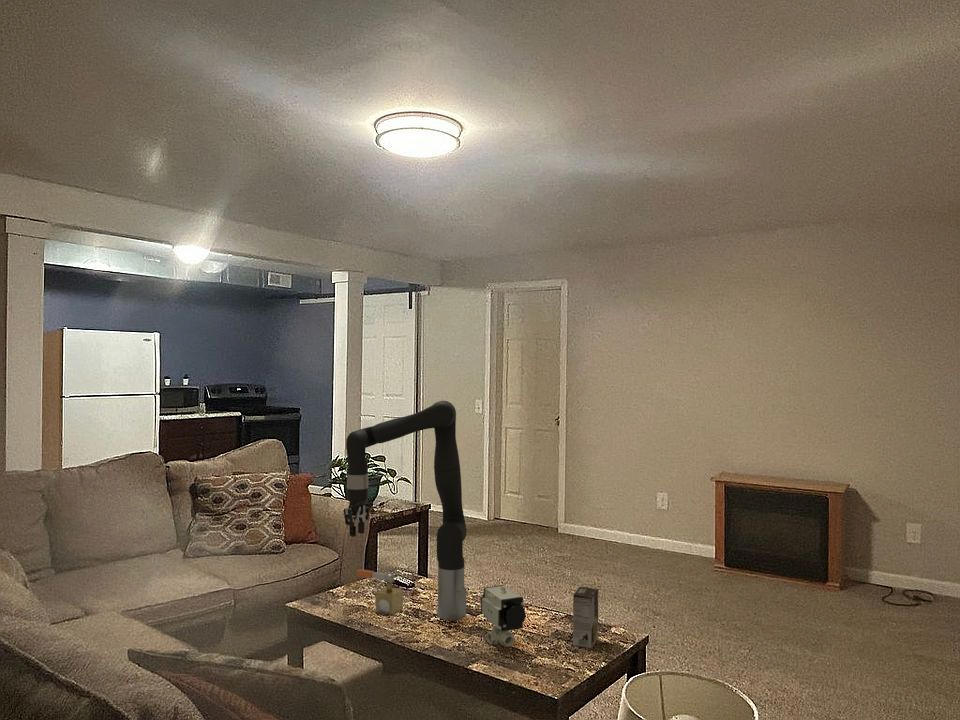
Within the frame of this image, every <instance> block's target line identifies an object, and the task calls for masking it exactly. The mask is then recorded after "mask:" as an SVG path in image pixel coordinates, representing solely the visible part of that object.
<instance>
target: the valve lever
mask: <svg viewBox="0 0 960 720" xmlns="http://www.w3.org/2000/svg"><path fill="white" fill-rule="evenodd" d="M356 577H357V578H364V579H369V580H370V579H374V580H381V581H384V582H385V583H387V582H388V583H391V582H392V583H394V582H395V573H393V572H385V573H383V572H377V571H376V572H375V570H369V569H362V568H360V569H358V570H356Z"/></svg>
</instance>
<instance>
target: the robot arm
mask: <svg viewBox="0 0 960 720" xmlns="http://www.w3.org/2000/svg"><path fill="white" fill-rule="evenodd" d="M456 410H457V409H456V408H455V406H454V405H453V403H452V402H450V401H447V400H439V401H437V402H436V401H435V403H433V404H432V405H430V406H428V407H427V408H424V409H422V410H420V411H417V412H415V413H412V414H409V415H406V416H400V417H396V418H392V419H389V420H385V421H381V422H379V423H377V424H374V425H372V426H368V427H363V428H360V429H357V430H353V431H352V432H350V433H349V434H348V436H347V437H346V441H345V442H346V443H345V448H346V449H345V450H346V455H347V461H348V462H347V463H348V464H347V478H346V500H347V501H348V502H349V503H348V507H347V508H344V509H343V515H344V517H343V518H344V522H345V523H344V524H345V525H347V526H349V528H348V529H349V537H351V538H352V537H353V538H354V537H356V536H357V533H358V534H361V535H362V534H364V533H365V523H366V521H368V520H369V518H370V512H371V506H372V505H371V503H370V502H367V501H368V500H369V475H368V474H369V462H368V459H367V457H366V456H367V455H366V454H367V453H366V452H367V451H366V448H369V447H371V446H375V445H377V444H384V443H387V442H390V441H394V440H397V439H400V438H402V437H405V436H407V435H410V434H414V433H416V432H420V431H423V430H424V431H425V430H429V429H434V437H435V449H434V456H433V457H434V459H433V470H434V482H435V487H436V492H437V493H438V497H439V500H440V502H441V508H442V524H441V525H440V526H439V528H438V529H437V533H436V559H437V617H438V618H439V619H441V620H447V621H459V620H461V619H462V618H465V616H467V587H465V564H466V563H465V558H464V555H463V554H464V553H463V551H464V550H463V547H464V545H463V544H464V541H465V539H466V537H467V525H466V520H465V515H464V509H463V501H462V500H463V498H462V497H463V493H462V492H463V491H462V474H461V473H462V472H461V464H460V455H459V450H458V444H457V429H456V428H457V427H456V426H457V425H456V424H457V411H456ZM357 520H358V523H357ZM356 525H357V526H356Z"/></svg>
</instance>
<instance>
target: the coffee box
mask: <svg viewBox="0 0 960 720" xmlns="http://www.w3.org/2000/svg"><path fill="white" fill-rule="evenodd" d="M572 596H573V598H572V599H573V600H572V601H573V605H572V606H573V609H572V610H573V611H572V613H573V615H572V645H573V646H577V647H582V648H588V649H592V648H593V647H594V645H595V643H596V642H597V640H598V639H599V589H598V588H592V587H587V586H586V587H585V586H579V587H578V589H577V590H576V591H575V592H574V593H573V595H572Z"/></svg>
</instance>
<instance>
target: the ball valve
mask: <svg viewBox="0 0 960 720" xmlns="http://www.w3.org/2000/svg"><path fill="white" fill-rule="evenodd" d="M480 613H481V614H483V618H485V619H486V620H487V621H489V623H491V624H492V625H493V626H492V628H491V630H488V631H487V634H486V639H487V642H488V644H490V645H493V646H496V645H497V646H498V645H502V646H503V647H505V648H508V647H512V646H513V645H514V642H515V637H514V634H513V633H512V632H511V631H513V630H519V629H523V628H524V623H525V620H526V610H525V608H524V597H523V596H521V595H520V594H518V593H517V592H515V591H513V590H512V589H510V588H509V587H507V586H506V585H504V584H501V585H494V586H493V585H492V586H487V587H483V594H482V596H481V597H480Z"/></svg>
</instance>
